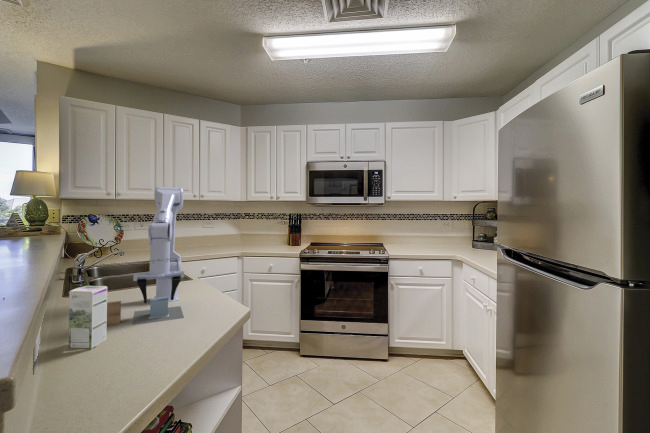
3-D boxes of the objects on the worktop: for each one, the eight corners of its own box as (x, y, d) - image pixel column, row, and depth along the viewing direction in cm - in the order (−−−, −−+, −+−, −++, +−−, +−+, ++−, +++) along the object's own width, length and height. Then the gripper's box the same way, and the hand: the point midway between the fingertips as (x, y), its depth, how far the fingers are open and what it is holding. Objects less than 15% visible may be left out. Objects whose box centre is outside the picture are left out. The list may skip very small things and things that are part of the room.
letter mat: (134, 312, 102) (134, 311, 102) (180, 307, 109) (180, 306, 109) (132, 326, 90) (132, 324, 90) (184, 319, 97) (184, 317, 97)
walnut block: (101, 322, 93) (101, 302, 93) (120, 319, 95) (121, 300, 95) (98, 327, 88) (98, 307, 88) (119, 324, 91) (119, 304, 91)
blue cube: (150, 313, 100) (150, 298, 100) (167, 311, 103) (167, 296, 103) (150, 318, 96) (150, 302, 96) (167, 315, 98) (168, 300, 98)
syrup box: (107, 340, 80) (108, 285, 80) (91, 350, 74) (92, 290, 74) (85, 340, 80) (86, 284, 80) (66, 349, 74) (68, 290, 74)
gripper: (133, 262, 92) (132, 306, 92) (185, 259, 100) (184, 301, 100) (134, 259, 98) (133, 300, 99) (183, 257, 106) (182, 295, 106)
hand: (159, 300), depth 99 cm, fingers open, 7 cm apart
